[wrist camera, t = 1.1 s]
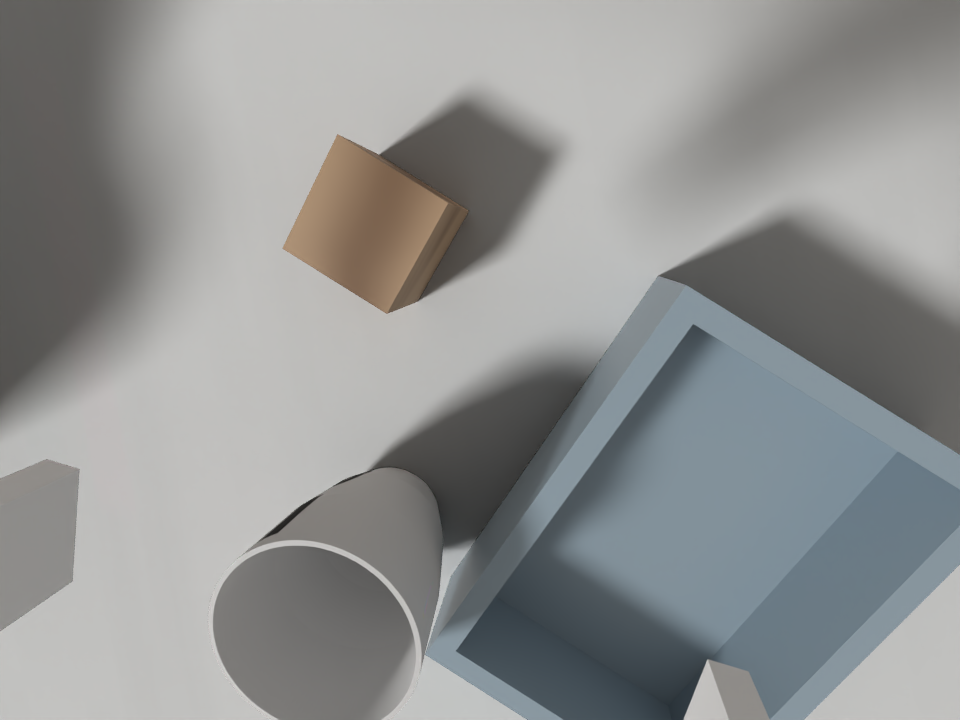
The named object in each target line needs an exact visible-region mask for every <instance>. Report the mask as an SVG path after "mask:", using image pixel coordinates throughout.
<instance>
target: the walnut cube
mask: <svg viewBox="0 0 960 720" xmlns="http://www.w3.org/2000/svg"><path fill="white" fill-rule="evenodd" d="M468 212H469V210H467V209H465V208H464V207H462V206H460V205H459V204H457V203H456V202H454V201H452V200H451V199H449V198H448V197H446V196H444V195H443V194H441V193H440V192H438V191H436V190H435V189H433V188H432V187H430V186H428V185H427V184H425V183H423V182H422V181H420V180H419V179H417V178H415V177H414V176H412V175H411V174H409V173H407V172H406V171H404V170H403V169H401V168H399V167H398V166H396V165H394V164H393V163H391V162H390V161H388V160H386V159H385V158H383V157H382V156H380V155H378V154H376V153H374V152H372V151H370V150H368V149H366V148H364V147H362V146H360V145H358V144H356V143H354V142H352V141H350V140H348V139H346V138H344V137H342V136H340V135H338V134H337V136H336V139H335V141H334V143H333V145H332V147H331V149H330V151H329V153H328V155H327V157H326V159H325V161H324V163H323V165H322V168H321V170H320V172H319V174H318V176H317V178H316V180H315V182H314V184H313V186H312V188H311V190H310V192H309V195H308V197H307V199H306V201H305V203H304V205H303V207H302V209H301V211H300V213H299V215H298V217H297V219H296V222H295V224H294V226H293V228H292V230H291V232H290V234H289V236H288V238H287V240H286V242H285V244H284V246H283V249H284V250H286V251H287V252H289V253H291V254H292V255H294V256H295V257H297V258H298V259H300V260H302V261H303V262H305V263H306V264H308V265H310V266H311V267H313V268H314V269H316V270H318V271H319V272H321V273H322V274H324V275H326V276H327V277H329V278H330V279H332V280H334V281H335V282H337V283H338V284H340V285H342V286H343V287H345V288H346V289H348V290H350V291H351V292H353V293H354V294H356V295H358V296H359V297H361V298H362V299H364V300H366V301H367V302H369V303H370V304H372V305H374V306H375V307H377V308H378V309H380V310H382V311H383V312H385V313H386V314H388V313H390V312H393V311H395V310H398V309H400V308H403V307H405V306H408V305H410V304H413V303H415V302H418V300H419V298H420V296H421V295H422V293H423V291H424V289H425V288H426V286H427V284H428V282H429V281H430V279H431V277H432V275H433V274H434V272H435V270H436V268H437V266H438V265H439V263H440V261H441V259H442V258H443V256H444V254H445V252H446V251H447V249H448V247H449V245H450V244H451V242H452V240H453V238H454V237H455V235H456V233H457V231H458V229H459V228H460V226H461V224H462V222H463V221H464V219H465V217H466V215H467V214H468Z"/></svg>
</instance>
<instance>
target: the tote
mask: <svg viewBox="0 0 960 720" xmlns="http://www.w3.org/2000/svg"><path fill="white" fill-rule="evenodd" d="M959 565H960V455H959V454H958V453H956V452H955V451H953V450H951V449H950V448H948V447H946V446H945V445H943V444H942V443H940V442H938V441H937V440H935V439H934V438H932V437H930V436H929V435H927V434H926V433H924V432H922V431H921V430H919V429H917V428H916V427H914V426H913V425H911V424H909V423H908V422H906V421H905V420H903V419H901V418H900V417H898V416H897V415H895V414H893V413H892V412H890V411H888V410H887V409H885V408H884V407H882V406H880V405H879V404H877V403H876V402H874V401H872V400H871V399H869V398H868V397H866V396H864V395H863V394H861V393H859V392H858V391H856V390H855V389H853V388H851V387H850V386H848V385H847V384H845V383H843V382H842V381H840V380H839V379H837V378H835V377H834V376H832V375H830V374H829V373H827V372H826V371H824V370H822V369H821V368H819V367H818V366H816V365H814V364H813V363H811V362H810V361H808V360H806V359H805V358H803V357H801V356H800V355H798V354H797V353H795V352H793V351H792V350H790V349H789V348H787V347H785V346H784V345H782V344H781V343H779V342H777V341H776V340H774V339H772V338H771V337H769V336H768V335H766V334H764V333H763V332H761V331H760V330H758V329H756V328H755V327H753V326H752V325H750V324H748V323H747V322H745V321H743V320H742V319H740V318H739V317H737V316H735V315H734V314H732V313H731V312H729V311H727V310H726V309H724V308H723V307H721V306H719V305H718V304H716V303H714V302H713V301H711V300H710V299H708V298H706V297H705V296H703V295H702V294H700V293H698V292H697V291H695V290H694V289H692V288H690V287H689V286H687V285H685V284H682V283H679V282H676V281H672V280H669V279H666V278H663V277H660V276H658V277H657V278H656V280H655V281H654V283H653V284H652V286H651V287H650V289H649V290H648V291H647V293H646V294H645V296H644V297H643V299H642V300H641V302H640V303H639V305H638V306H637V307H636V309H635V310H634V312H633V313H632V315H631V316H630V318H629V319H628V321H627V322H626V323H625V325H624V326H623V328H622V329H621V331H620V332H619V334H618V335H617V336H616V338H615V339H614V341H613V342H612V344H611V345H610V347H609V348H608V350H607V351H606V352H605V354H604V355H603V357H602V358H601V360H600V361H599V363H598V364H597V366H596V367H595V368H594V370H593V371H592V373H591V374H590V376H589V377H588V379H587V380H586V381H585V383H584V384H583V386H582V387H581V389H580V390H579V392H578V393H577V395H576V396H575V397H574V399H573V400H572V402H571V403H570V405H569V406H568V408H567V409H566V411H565V412H564V413H563V415H562V416H561V418H560V419H559V421H558V422H557V424H556V425H555V426H554V428H553V429H552V431H551V432H550V434H549V435H548V437H547V438H546V440H545V441H544V442H543V444H542V445H541V447H540V448H539V450H538V451H537V453H536V454H535V456H534V457H533V458H532V460H531V461H530V463H529V464H528V466H527V467H526V469H525V470H524V471H523V473H522V474H521V476H520V477H519V479H518V480H517V482H516V483H515V485H514V486H513V487H512V489H511V490H510V492H509V493H508V495H507V496H506V498H505V499H504V501H503V502H502V503H501V505H500V506H499V508H498V509H497V511H496V512H495V514H494V515H493V516H492V518H491V519H490V521H489V522H488V524H487V525H486V527H485V528H484V530H483V531H482V532H481V534H480V535H479V537H478V538H477V540H476V541H475V543H474V544H473V546H472V547H471V548H470V550H469V551H468V553H467V554H466V556H465V557H464V559H463V560H462V561H461V563H460V564H459V566H458V567H457V569H456V570H455V572H454V573H453V575H452V576H451V578H450V581H449V584H448V587H447V590H446V593H445V596H444V599H443V602H442V605H441V608H440V611H439V614H438V617H437V620H436V623H435V626H434V629H433V632H432V635H431V638H430V641H429V644H428V647H427V650H426V653H425V655H427V656H428V657H430V658H431V659H433V660H434V661H436V662H438V663H439V664H441V665H442V666H444V667H445V668H447V669H449V670H450V671H452V672H453V673H455V674H456V675H458V676H460V677H461V678H463V679H464V680H466V681H467V682H469V683H471V684H472V685H474V686H475V687H477V688H478V689H480V690H482V691H483V692H485V693H486V694H488V695H489V696H491V697H493V698H494V699H496V700H497V701H499V702H500V703H502V704H504V705H505V706H507V707H508V708H510V709H511V710H513V711H515V712H516V713H518V714H519V715H521V716H522V717H524V718H526V719H527V720H684V717H685V714H686V712H687V709H688V707H689V704H690V702H691V699H692V697H693V694H694V692H695V689H696V687H697V684H698V682H699V679H700V677H701V674H702V672H703V669H704V667H705V664H706V662H707V659H709V660H712V661H715V662H719V663H722V664H725V665H729V666H732V667H735V668H739V669H742V670H745V671H749V674H750V676H751V678H752V680H753V683H754V685H755V687H756V689H757V692H758V694H759V696H760V699H761V701H762V703H763V705H764V708H765V710H766V712H767V715H768V717H769V719H770V720H804V719H805V718H806V717H807V716H808V715H809V714H810V713H811V712H812V711H813V710H814V709H815V708H816V707H817V706H818V705H819V704H820V703H821V702H822V701H823V700H824V699H825V698H826V697H827V696H828V695H829V694H830V693H831V692H832V691H833V690H834V689H835V688H836V687H837V686H838V685H839V684H840V683H841V682H842V681H843V680H844V679H845V678H846V677H847V676H848V675H849V674H850V673H851V672H852V671H853V670H854V669H855V668H856V667H857V666H858V665H859V664H860V663H861V662H862V661H863V660H864V659H865V658H866V657H867V656H868V655H869V654H870V653H871V652H872V651H873V650H874V649H875V648H876V647H877V646H878V645H879V644H880V643H881V642H882V641H883V640H884V639H885V638H886V637H887V636H888V635H889V634H890V633H891V632H892V631H893V630H894V629H895V628H896V627H897V626H898V625H899V624H900V623H901V622H902V621H903V620H904V619H905V618H906V617H907V616H908V615H909V614H910V613H911V612H912V611H913V610H914V609H916V608H917V607H918V606H919V605H920V604H921V603H922V602H923V601H924V600H925V599H926V598H927V597H928V596H929V595H930V594H931V593H932V592H933V591H934V590H935V589H936V588H937V587H938V586H939V585H940V584H941V583H942V582H943V581H944V580H945V579H946V578H947V577H948V576H949V575H950V574H951V573H952V572H953V571H954V570H955V569H956V568H957V567H958V566H959Z"/></svg>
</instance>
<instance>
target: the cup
mask: <svg viewBox="0 0 960 720" xmlns="http://www.w3.org/2000/svg"><path fill="white" fill-rule="evenodd" d="M442 553H443V532H442V526H441V520H440V515H439V509H438V504H437V501H436V498H435V496H434V494H433V492H432V491H431V489H430V488H429V487H428V486H427V484H426V483H425V482H424V481H423V480H421V479H420V478H419V477H417V476H416V475H414V474H412V473H411V472H408V471H406V470H403V469H399V468H391V467H387V468H379V469H375V470H372V471H368V472H365V473H362V474H358V475H355V476H352V477H349V478H347V479H345V480H343V481H341V482H339V483H338V484H336V485H334V486H333V487H331V488H329V489H328V490H326V491H324V492H323V493H321V494H319V495H318V496H316V497H314V498H313V499H311V500H310V501H308V502H306V503H305V504H303V505H301V506H300V507H298V508H297V509H296V510H294V511H293V512H292V513H291V514H290V515H289V516H287V517H286V518H285V519H284V520H283V521H281V522H280V523H279V524H278V525H277V526H276V527H274V528H273V529H272V530H271V531H270V532H268V533H267V534H266V535H265V536H264V537H263V538H261V539H260V540H259V541H258V542H257V543H255V544H254V545H253V546H252V547H251V548H250V549H248V550H247V551H246V552H245V553H244V554H243V555H241V556H240V557H239V558H238V559H237V560H235V561H234V562H233V563H232V564H231V565H230V566H229V567H228V568H227V569H226V571H225V572H224V573H223V574H222V576H221V577H220V579H219V581H218V582H217V584H216V586H215V589H214V591H213V594H212V597H211V600H210V605H209V611H208V631H209V637H210V642H211V646H212V650H213V652H214V655H215V658H216V660H217V662H218V664H219V666H220V668H221V670H222V672H223V674H224V675H225V677H226V678H227V680H228V681H229V683H230V684H231V685H232V687H233V688H234V689H235V690H236V691H237V693H238V694H239V695H240V696H241V697H242V698H243V699H244V700H245V701H246V702H247V703H249V704H250V705H251V706H252V707H253V708H255V709H256V710H257V711H259V712H260V713H261V714H263V715H264V716H266V717H268V718H269V719H271V720H390V719H392V718H393V717H394V716H395V715H396V714H398V713H399V712H400V711H401V709H402V708H403V707H404V706H405V705H406V703H407V702H408V701H409V699H410V697H411V696H412V694H413V692H414V690H415V687H416V685H417V682H418V679H419V675H420V671H421V667H422V663H423V659H424V655H425V650H426V646H427V642H428V638H429V634H430V630H431V626H432V622H433V618H434V614H435V610H436V605H437V601H438V597H439V588H440V576H441V565H442Z"/></svg>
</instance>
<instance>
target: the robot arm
mask: <svg viewBox="0 0 960 720" xmlns="http://www.w3.org/2000/svg"><path fill="white" fill-rule="evenodd" d="M78 485H79V469H77V468H74V467H71V466H68V465H64V464H61V463H58V462H54V461H51V460H48V459H46V460H44V461H41V462H39V463H36V464H34V465H32V466H29V467H27V468H25V469H22V470H20V471H17V472H15V473H13V474H10V475H8V476H5V477H3V478H1V479H0V631H1V630H3V629H4V628H6V627H7V626H8V625H10V624H11V623H13V622H14V621H16V620H17V619H19V618H20V617H21V616H23V615H24V614H26V613H27V612H29V611H30V610H32V609H33V608H35V607H36V606H37V605H39V604H40V603H42V602H43V601H45V600H46V599H48V598H49V597H50V596H52V595H53V594H55V593H56V592H58V591H59V590H61V589H62V588H63V587H65V586H66V585H68V584H69V583H71V582H72V581H73V565H74V549H75V533H76V517H77V501H78ZM684 720H770V719H769V717H768V715H767V712H766V710H765V708H764V705H763V703H762V701H761V699H760V696H759V694H758V692H757V689H756V687H755V685H754V683H753V680H752V678H751V676H750V674H749V671H745V670H742V669H739V668H735V667H732V666H729V665H725V664H722V663H719V662H715V661H712V660H709V659H707V662H706V664H705V667H704V669H703V672H702V674H701V677H700V679H699V682H698V684H697V687H696V689H695V692H694V694H693V697H692V699H691V702H690V704H689V707H688V709H687V712H686V714H685V717H684Z"/></svg>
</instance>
